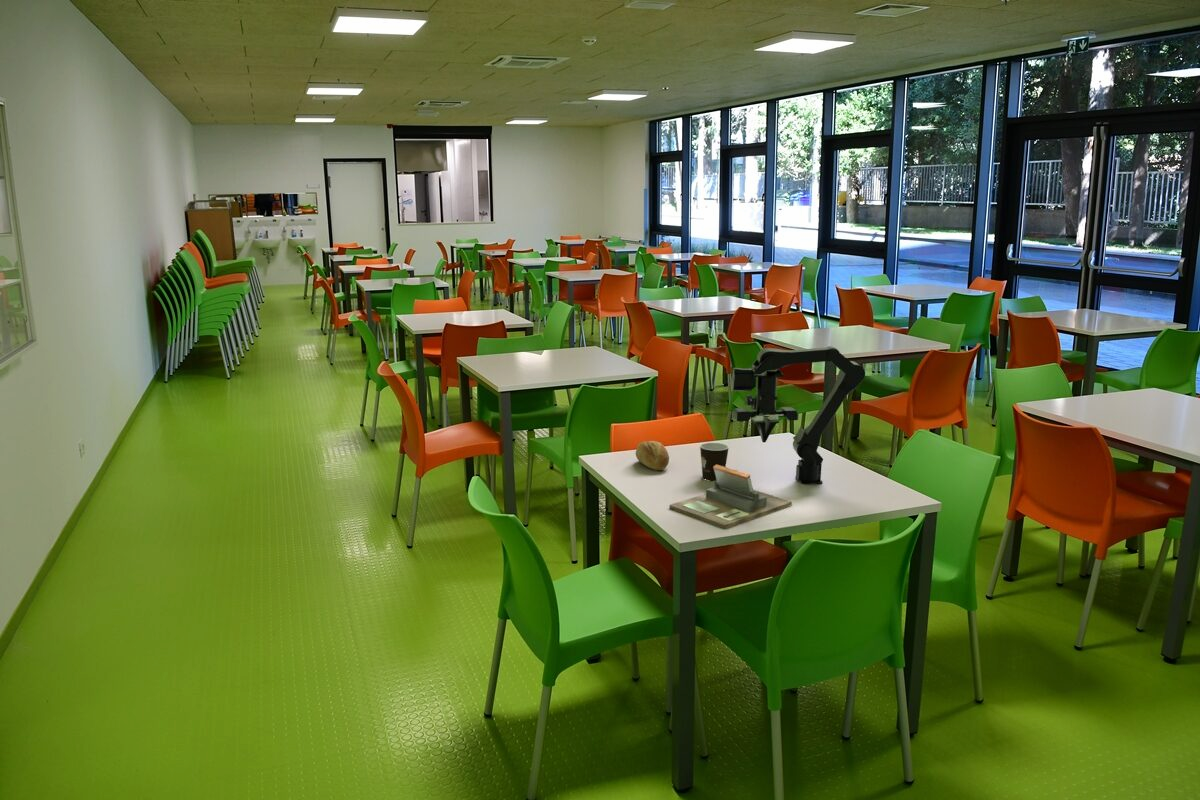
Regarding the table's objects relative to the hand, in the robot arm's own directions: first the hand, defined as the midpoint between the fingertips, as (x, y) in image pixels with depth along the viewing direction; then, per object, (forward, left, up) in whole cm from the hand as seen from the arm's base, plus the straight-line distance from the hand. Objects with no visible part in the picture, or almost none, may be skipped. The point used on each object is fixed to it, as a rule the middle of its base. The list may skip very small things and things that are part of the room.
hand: (763, 442), depth 260 cm
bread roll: (+31, -18, -12) cm, 38 cm away
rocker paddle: (+14, +21, -8) cm, 26 cm away
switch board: (+16, +22, -12) cm, 30 cm away
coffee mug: (+14, -5, -12) cm, 19 cm away
